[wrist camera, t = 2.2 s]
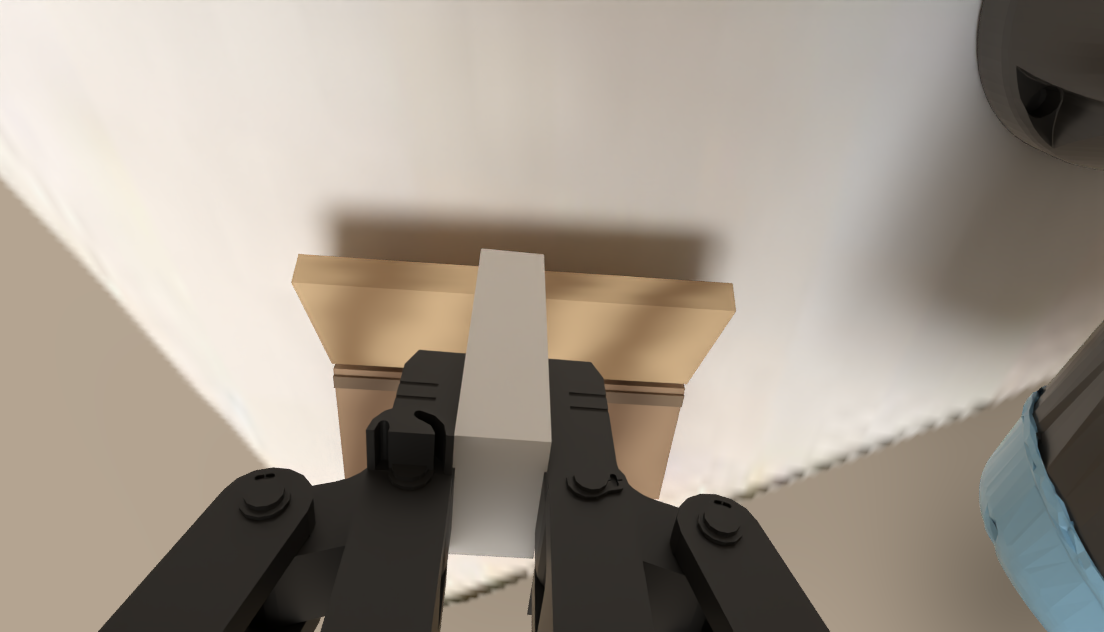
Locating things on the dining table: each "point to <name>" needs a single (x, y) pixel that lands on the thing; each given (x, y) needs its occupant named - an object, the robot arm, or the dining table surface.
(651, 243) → the dining table surface
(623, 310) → the oak plank
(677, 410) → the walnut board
